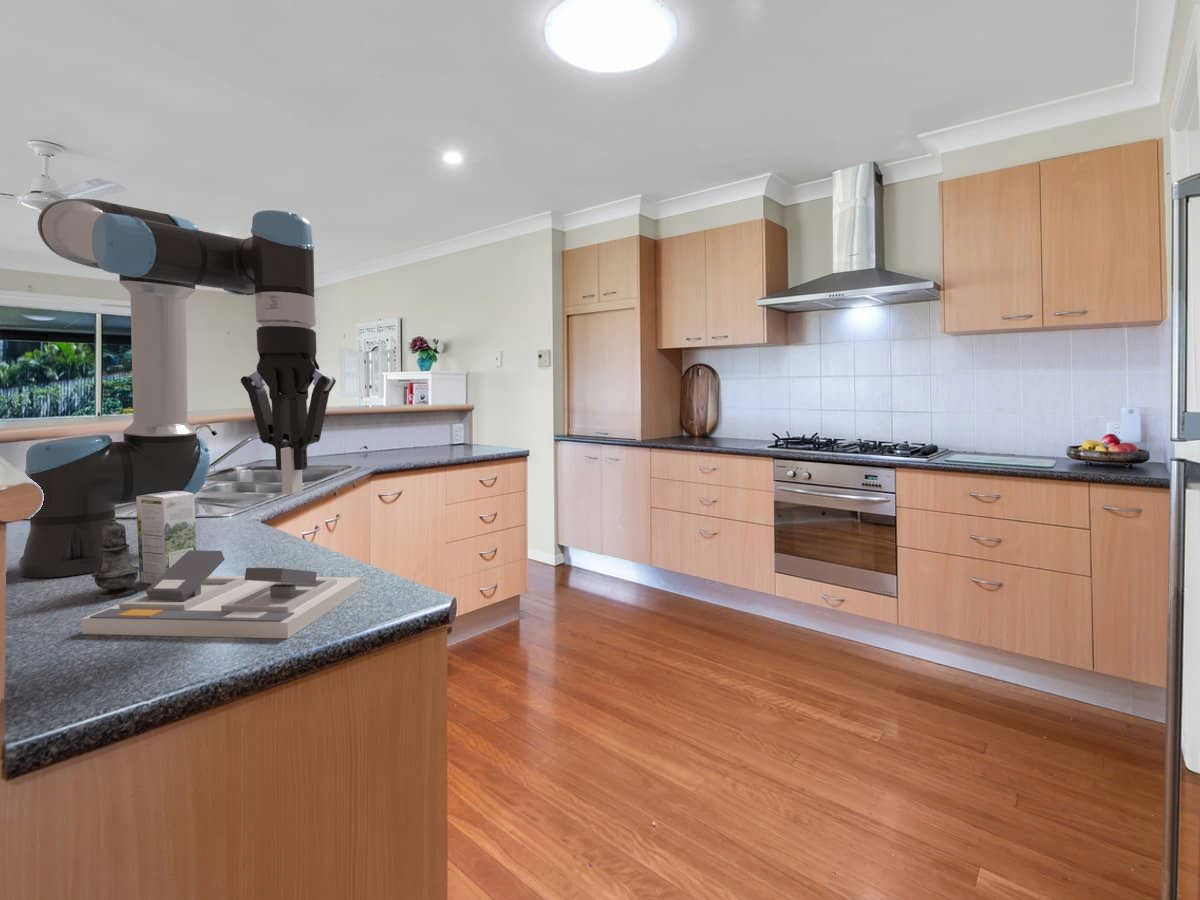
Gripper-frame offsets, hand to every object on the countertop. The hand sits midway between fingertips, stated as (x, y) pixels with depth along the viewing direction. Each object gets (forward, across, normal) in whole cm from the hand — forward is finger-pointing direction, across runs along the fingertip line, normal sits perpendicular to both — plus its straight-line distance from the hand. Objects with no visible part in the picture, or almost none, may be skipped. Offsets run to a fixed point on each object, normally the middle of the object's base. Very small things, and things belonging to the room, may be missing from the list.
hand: (292, 492), depth 89 cm
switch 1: (+11, -14, -4) cm, 18 cm away
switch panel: (+16, -7, -4) cm, 18 cm away
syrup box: (+17, -28, +10) cm, 34 cm away
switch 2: (+11, 0, -4) cm, 12 cm away
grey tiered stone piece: (+17, -30, +2) cm, 34 cm away
